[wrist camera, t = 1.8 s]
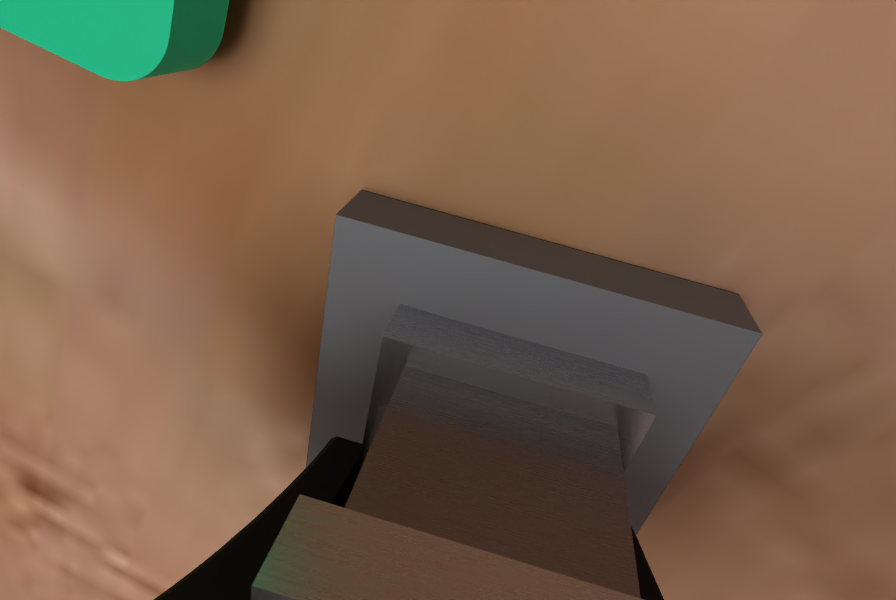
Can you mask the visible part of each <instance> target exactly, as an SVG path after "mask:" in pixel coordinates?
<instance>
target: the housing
mask: <svg viewBox="0 0 896 600" xmlns="http://www.w3.org/2000/svg"><path fill="white" fill-rule="evenodd" d="M655 417H656V412H655V408H654V404H653V399H652V395H651V391H650V386H649V382H648V378H647V375H646V374H643V373H639V372H636V371H632V370H629V369H625V368H622V367H618V366H615V365H611V364H608V363H604V362H601V361H597V360H594V359H590V358H587V357H583V356H580V355H576V354H573V353H569V352H566V351H562V350H559V349H555V348H552V347H548V346H545V345H541V344H538V343H534V342H531V341H527V340H524V339H520V338H517V337H513V336H510V335H506V334H503V333H499V332H496V331H492V330H489V329H485V328H482V327H478V326H475V325H471V324H468V323H464V322H461V321H457V320H454V319H450V318H447V317H443V316H440V315H436V314H433V313H429V312H426V311H422V310H419V309H415V308H412V307H408V306H405V305H401V304H400V305H399V307H398V308H397V310H396V312H395V314H394V316H393V318H392V320H391V322H390V324H389V326H388V327H387V329H386V331H385V333H384V335H383V338H382V343H381V348H380V354H379V359H378V364H377V369H376V375H375V380H374V385H373V391H372V396H371V401H370V406H369V412H368V417H367V422H366V427H365V433H364V438H363V443H362V444H364V445H365V447H364V452H363V458H362V463H361V468H360V472H359V475H358V477H357V479H356V482H355V484H354V486H353V489H352V491H351V494H350V496H349V498H348V501H347V503H346V505H345V508H343V507H340V506H337V505H334V504H330V503H327V502H324V501H320V500H317V499H314V498H311V497H307V496H304V495H301V494H300V495H299V496H298V498H297V500H296V502H295V504H294V506H293V508H292V510H291V512H290V514H289V515H288V517H287V519H286V521H285V523H284V525H283V527H282V529H281V531H280V532H279V534H278V536H277V538H276V540H275V542H274V544H273V546H272V548H271V550H270V551H269V553H268V555H267V557H266V559H265V561H264V563H263V565H262V567H261V569H260V570H259V572H258V574H257V576H256V578H255V580H254V582H253V584H252V586H251V600H644V599H641V597H640V590H639V582H638V575H637V567H636V560H635V553H634V545H633V538H632V530H631V523H630V515H629V508H628V501H627V493H626V486H625V478H624V472H625V471H626V469H627V467H628V465H629V463H630V462H631V460H632V458H633V456H634V455H635V453H636V451H637V449H638V447H639V446H640V444H641V442H642V440H643V438H644V437H645V435H646V433H647V431H648V429H649V428H650V426H651V424H652V422H653V421H654V419H655Z"/></svg>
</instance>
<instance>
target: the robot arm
mask: <svg viewBox="0 0 896 600" xmlns="http://www.w3.org/2000/svg"><path fill="white" fill-rule="evenodd" d="M364 447H365V445H364V444H361V443H358V442H354V441H351V440H348V439H344V438H341V437H338V436H336V437H334V438H331V439H330V440H329V442H328V443H327V444H326V445H325V447H324V448H323V449H322V450H321V451H320V453H319V454H318V455H317V456H316V457H315V458H314V460H313V461H312V462H311V463H310V464H309V465H308V466H307V467H306V468H305V469H304V471H303V472H302V473H301V474H300V475H299V476H298V477H297V478H296V479H295V480H294V481H293V482H292V483H291V484H290V485H289V486H288V487H287V488H286V489H285V490H284V491H283V492H282V493H281V494H280V495H279V496H278V497H277V498H276V499H275V500H274V501H273V502H272V503H271V504H269V505H268V506H267V507H266V508H265V509H264V510H263V511H262V512H261V513H260V514H259V515H258V516H257V517H256V518H255V519H254V520H252V521H251V522H250V523H249V524H248V525H247V526H246V527H244V528H243V529H242V530H241V531H240V532H239V533H237V534H236V535H235V536H234V537H233V538H232V539H231V540H229V541H228V542H227V543H226V544H225V545H224V546H223V547H221V548H220V549H219V550H218V551H217V552H215V553H214V554H213V555H212V556H210V557H209V558H208V559H207V560H206V561H204V562H203V563H202V564H201V565H199V566H198V567H197V568H195V569H194V570H193V571H192V572H190V573H189V574H188V575H186V576H185V577H184V578H182V579H181V580H180V581H179V582H177V583H176V584H175V585H173V586H172V587H171V588H169V589H168V590H167V591H165V592H164V593H162V594H161V595H160V596H158V597H157V598H155V599H154V600H251V586H252V584H253V582H254V580H255V578H256V576H257V574H258V572H259V570H260V569H261V567H262V565H263V563H264V561H265V559H266V557H267V555H268V553H269V551H270V550H271V548H272V546H273V544H274V542H275V540H276V538H277V536H278V534H279V532H280V531H281V529H282V527H283V525H284V523H285V521H286V519H287V517H288V515H289V514H290V512H291V510H292V508H293V506H294V504H295V502H296V500H297V498H298V496H299V495H300V494H301V495H304V496H307V497H311V498H314V499H317V500H320V501H324V502H327V503H330V504H334V505H337V506H340V507H343V508H345V505H346V503H347V501H348V498H349V496H350V494H351V491H352V489H353V486H354V484H355V482H356V479H357V477H358V475H359V472H360V468H361V463H362V458H363V452H364ZM631 530H632V538H633V545H634V553H635V560H636V567H637V575H638V582H639V590H640V597H641V599H644V600H664V599H663V596H662V594H661V592H660V590H659V587H658V585H657V583H656V581H655V578H654V576H653V574H652V572H651V569H650V567H649V565H648V562H647V560H646V558H645V555H644V553H643V551H642V548H641V546H640V544H639V541H638V539H637V537H636V534H635V532H634V530H633V528H632V526H631Z"/></svg>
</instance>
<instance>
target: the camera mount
mask: <svg viewBox="0 0 896 600" xmlns="http://www.w3.org/2000/svg"><path fill="white" fill-rule="evenodd" d="M229 1H230V0H0V28H2V29H4V30H6V31H8V32H10V33H13V34H15V35H17V36H19V37H21V38H23V39H25V40H27V41H29V42H31V43H33V44H35V45H37V46H39V47H41V48H43V49H46V50H48V51H50V52H52V53H54V54H56V55H58V56H60V57H62V58H64V59H66V60H68V61H70V62H72V63H74V64H77V65H79V66H81V67H83V68H85V69H87V70H89V71H91V72H93V73H95V74H97V75H100V76H102V77H104V78H108V79H111V80H116V81H132V80H137V79H142V78H148V77H153V76H158V75H163V74H169V73H174V72H179V71H185V70H190V69H194V68H197V67H199V66H201V65H203V64H204V63H206V62H207V61H208V60H209V59H210V58H211V57H212V56H213V55H214V54H215V52H216V51H217V49H218V47H219V45H220V43H221V40H222V37H223V33H224V28H225V22H226V17H227V11H228V6H229Z"/></svg>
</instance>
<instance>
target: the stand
mask: <svg viewBox="0 0 896 600" xmlns="http://www.w3.org/2000/svg"><path fill="white" fill-rule="evenodd" d="M400 304H401V305H405V306H408V307H412V308H415V309H419V310H422V311H426V312H429V313H433V314H436V315H440V316H443V317H447V318H450V319H454V320H457V321H461V322H464V323H468V324H471V325H475V326H478V327H482V328H485V329H489V330H492V331H496V332H499V333H503V334H506V335H510V336H513V337H517V338H520V339H524V340H527V341H531V342H534V343H538V344H541V345H545V346H548V347H552V348H555V349H559V350H562V351H566V352H569V353H573V354H576V355H580V356H583V357H587V358H590V359H594V360H597V361H601V362H604V363H608V364H611V365H615V366H618V367H622V368H625V369H629V370H632V371H636V372H639V373H643V374H646V375H647V378H648V382H649V386H650V391H651V395H652V399H653V404H654V408H655V412H656V417H655V419H654V421H653V422H652V424H651V426H650V428H649V429H648V431H647V433H646V435H645V437H644V438H643V440H642V442H641V444H640V446H639V447H638V449H637V451H636V453H635V455H634V456H633V458H632V460H631V462H630V463H629V465H628V467H627V469H626V471H625V472H624V478H625V486H626V493H627V501H628V508H629V515H630V523H631V526H632V528H633V530H634V532H635V534H637V533H638V531H639V529H640V528H641V526H642V525H643V523H644V522H645V520H646V518H647V517H648V515H649V514H650V512H651V510H652V509H653V507H654V506H655V504H656V502H657V501H658V499H659V498H660V496H661V494H662V493H663V491H664V490H665V488H666V487H667V485H668V483H669V482H670V480H671V479H672V477H673V475H674V474H675V472H676V471H677V469H678V467H679V466H680V464H681V463H682V461H683V459H684V458H685V456H686V455H687V453H688V452H689V450H690V448H691V447H692V445H693V444H694V442H695V440H696V439H697V437H698V436H699V434H700V432H701V431H702V429H703V428H704V426H705V424H706V423H707V421H708V420H709V418H710V417H711V415H712V413H713V412H714V410H715V409H716V407H717V405H718V404H719V402H720V401H721V399H722V397H723V396H724V394H725V393H726V391H727V390H728V388H729V386H730V385H731V383H732V382H733V380H734V378H735V377H736V375H737V374H738V372H739V370H740V369H741V367H742V366H743V364H744V362H745V361H746V359H747V358H748V356H749V355H750V353H751V351H752V350H753V348H754V347H755V345H756V343H757V342H758V340H759V339H760V337H761V335H762V332H761V330H760V329H759V327H758V325H757V324H756V322H755V321H754V319H753V317H752V316H751V314H750V312H749V311H748V309H747V307H746V306H745V304H744V302H743V301H742V299H741V297H740V296H739V294H735V293H732V292H728V291H724V290H721V289H717V288H713V287H710V286H706V285H703V284H699V283H695V282H692V281H688V280H685V279H681V278H677V277H674V276H670V275H666V274H663V273H659V272H656V271H652V270H648V269H645V268H641V267H638V266H634V265H630V264H627V263H623V262H619V261H616V260H612V259H609V258H605V257H601V256H598V255H594V254H591V253H587V252H583V251H580V250H576V249H572V248H569V247H565V246H562V245H558V244H554V243H551V242H547V241H543V240H540V239H536V238H533V237H529V236H525V235H522V234H518V233H515V232H511V231H507V230H504V229H500V228H496V227H493V226H489V225H486V224H482V223H478V222H475V221H471V220H468V219H464V218H460V217H457V216H453V215H449V214H446V213H442V212H439V211H435V210H431V209H428V208H424V207H421V206H417V205H413V204H410V203H406V202H402V201H399V200H395V199H392V198H388V197H384V196H381V195H377V194H373V193H370V192H366V191H363V190H361V191H360V192H359V193H358V194H357V195H356V196H355V197H354V198H353V199H352V200H351V201H350V202H349V203H348V204H346V205H345V206H344V207H343V208H342V209H341V210H340V211H339V212H338V213H337V214H336V218H335V227H334V235H333V244H332V252H331V260H330V269H329V277H328V286H327V294H326V303H325V311H324V320H323V328H322V336H321V345H320V353H319V362H318V370H317V379H316V387H315V396H314V404H313V413H312V421H311V429H310V438H309V446H308V455H307V463H306V467H307V466H308V465H309V464H310V463H311V462H312V461H313V460H314V458H315V457H316V456H317V455H318V454H319V453H320V451H321V450H322V449H323V448H324V447H325V445H326V444H327V443H328V442H329V440H330V439H331V438H334V437H336V436H338V437H341V438H344V439H348V440H351V441H354V442H358V443H361V444H362V443H363V438H364V433H365V427H366V422H367V417H368V412H369V406H370V401H371V396H372V391H373V385H374V380H375V375H376V369H377V364H378V359H379V354H380V348H381V343H382V338H383V335H384V333H385V331H386V329H387V327H388V326H389V324H390V322H391V320H392V318H393V316H394V314H395V312H396V310H397V308H398V307H399V305H400Z"/></svg>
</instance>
